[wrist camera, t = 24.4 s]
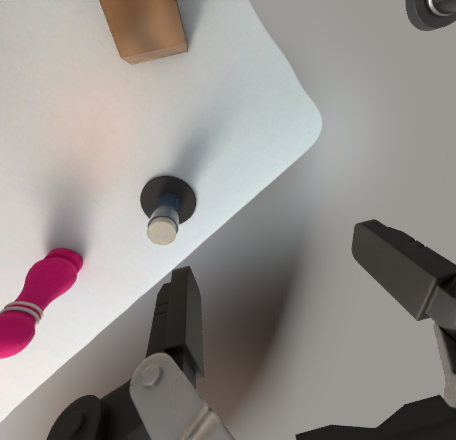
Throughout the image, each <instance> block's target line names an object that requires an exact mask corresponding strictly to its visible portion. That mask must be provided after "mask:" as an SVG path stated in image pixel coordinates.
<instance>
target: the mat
mask: <svg viewBox="0 0 456 440" xmlns="http://www.w3.org/2000/svg"><path fill="white" fill-rule="evenodd" d="M166 192H170V193H174V194H176V195H177V196H178V197H179V199H180V201H181V209H180V217H179V224H181V223H183V222H185V221H187V220H188V219H189V218H190V217H191V216H192V214H193V212H194V210H195V206H196V199H195V195H194V192H193V190H192V189H191V187H190V186H189V185H188V184H187V183H186V182H184V181H183V180H181V179H179V178H176V177H172V176H161V177H157V178H155V179H153V180H151V181H150V182H148V183H147V184H146V186H145V187H144V189H143V190H142V193H141V199H140V201H141V206H142V209H143V211H144V213H145V214H146V215H147V216H148V217H149V218H150V217H151V215H152V212H153V209H154V207H155V204H156V201H157V198H158V197H159V196H160V195H161V194H163V193H166Z"/></svg>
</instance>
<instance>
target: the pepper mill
mask: <svg viewBox="0 0 456 440" xmlns="http://www.w3.org/2000/svg"><path fill="white" fill-rule="evenodd" d="M82 265H83V262H82V259H81V257H80V256H79V255H78V254H77V253H76V252H74V251H72V250H69V249H55V250H53V251H51V252H50V253H49V254H48V255H47V256H46V257H45V258H44V259H43V260H40V261H38V262H37V263H35V264H34V265H33V266H32V268H31V269H30V270H29V272H28V274H27V276H26V279H25V284H24V288H23V290H22V292H21V294H20V295H19V296H18V298H17V299H16V300H15V301H14V302H12V303H9V304H8V305H6V306H5V307H4V309H3V310H2V311H1V312H0V359H1V358H7V357H10V356H13V355H15V354H17V353H19V352H20V351H22V350H23V349H24V348H25V347H26V346H27V345H28V344H29V343H30V342H31V340H32V339H33V337H34V335H35V327H36V326H37V325H38V324H39V321H40V320H41V319H42V318H43V311H44V309H45V308H46V307H47V306H48V305H49V303H51V302H52V301H53V300H54V299H56V298H57V297H59V296H60V295H62V294H64V293H65V292H66V291H67V290H69V289H70V288H71V287H72V285H73V284H74V283H75V281H76V278H77V273H78V272H79V270H80V269H81V267H82Z"/></svg>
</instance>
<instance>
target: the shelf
mask: <svg viewBox="0 0 456 440" xmlns="http://www.w3.org/2000/svg"><path fill="white" fill-rule="evenodd" d="M99 1H100V3H101V6H102V9H103V12H104V14H105V17H106V20H107V22H108V25H109V28H110V30H111V33H112V36H113V38H114V41H115V44H116V46H117V49H118V52H119V54H120V57H121V58H122V59H123V60H125V61H127V62H128V63H130V64H136V63H140V62H144V61H149V60H153V59H157V58H162V57H166V56H170V55H175V54H179V53H183V52H187V43H186V39H185V34H184V30H183V26H182V22H181V17H180V13H179V9H178V5H177V0H99Z"/></svg>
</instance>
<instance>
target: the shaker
mask: <svg viewBox="0 0 456 440" xmlns="http://www.w3.org/2000/svg"><path fill="white" fill-rule="evenodd" d="M180 209H181V201H180V199H179V197H178V196H177V195H176V194H174V193H170V192H166V193H163V194H161V195H160V196H159V197H158V198H157V201H156V204H155V207H154V209H153V212H152V215H151V217H150V220H149V223H148V230H147V235H148V237H149V239H150V240H151V241H152V242H154V243H155V244H159V245H166V244H169V243H171V242H172V241H173V240H174V239H175V237H176V234H177V232H178V226H179V217H180Z"/></svg>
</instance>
